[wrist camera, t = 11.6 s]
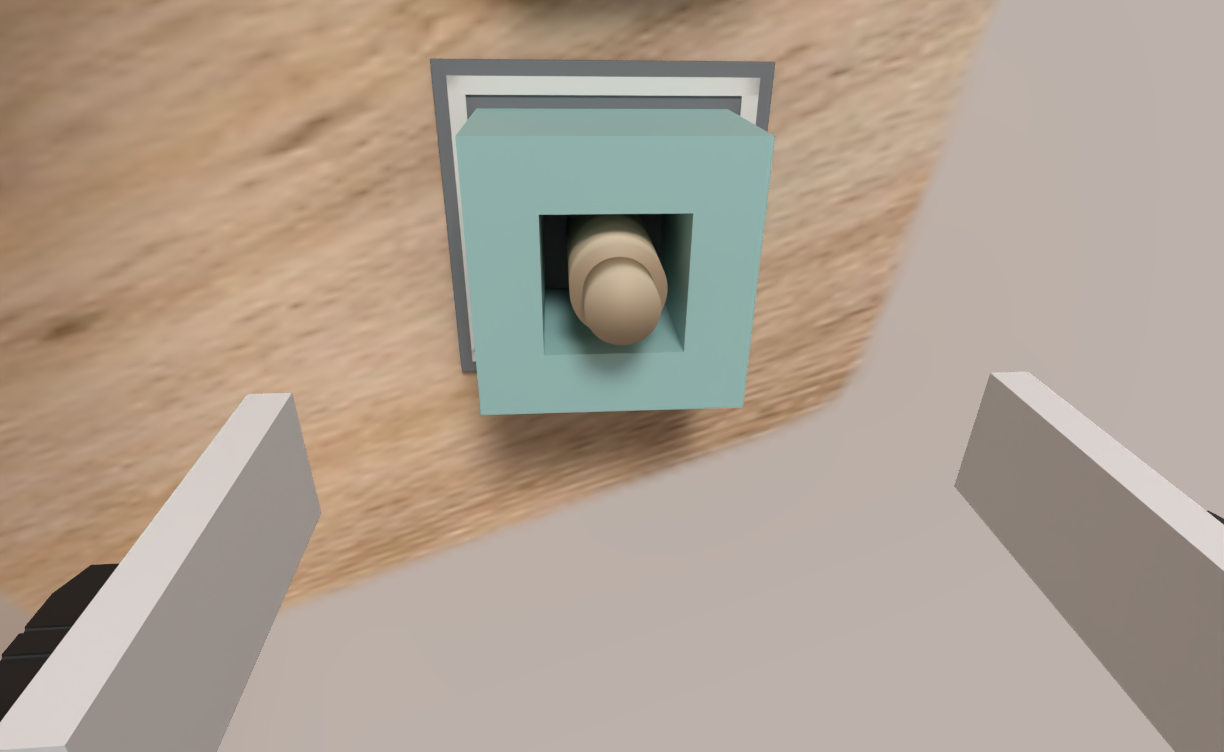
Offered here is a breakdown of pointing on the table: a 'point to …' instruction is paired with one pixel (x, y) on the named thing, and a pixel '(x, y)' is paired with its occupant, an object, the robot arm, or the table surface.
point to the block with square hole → (612, 184)
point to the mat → (574, 88)
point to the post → (614, 276)
